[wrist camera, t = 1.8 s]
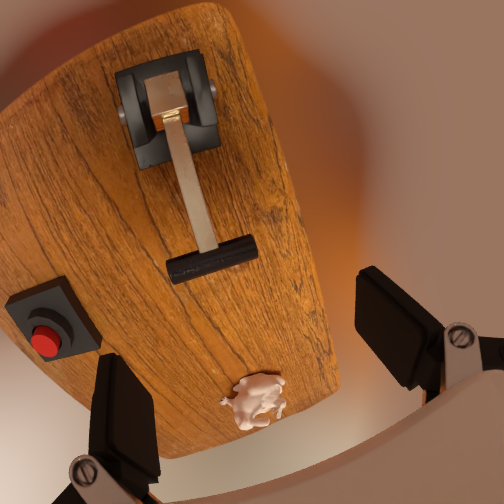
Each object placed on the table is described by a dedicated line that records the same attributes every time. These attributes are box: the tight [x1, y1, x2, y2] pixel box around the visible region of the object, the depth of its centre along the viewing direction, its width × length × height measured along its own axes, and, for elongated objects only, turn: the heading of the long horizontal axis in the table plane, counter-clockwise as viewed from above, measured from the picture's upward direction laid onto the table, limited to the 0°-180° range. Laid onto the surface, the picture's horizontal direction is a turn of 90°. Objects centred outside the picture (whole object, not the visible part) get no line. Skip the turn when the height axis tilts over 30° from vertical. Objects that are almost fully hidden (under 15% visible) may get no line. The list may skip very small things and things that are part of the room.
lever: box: [143, 70, 258, 285], centre depth 15 cm, size 12×5×2 cm, turn 11°
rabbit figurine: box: [219, 373, 286, 430], centre depth 40 cm, size 12×8×10 cm, turn 106°
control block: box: [4, 276, 102, 362], centre depth 27 cm, size 10×10×4 cm
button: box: [31, 325, 60, 357], centre depth 25 cm, size 4×4×2 cm
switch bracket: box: [115, 49, 221, 170], centre depth 18 cm, size 10×8×12 cm
